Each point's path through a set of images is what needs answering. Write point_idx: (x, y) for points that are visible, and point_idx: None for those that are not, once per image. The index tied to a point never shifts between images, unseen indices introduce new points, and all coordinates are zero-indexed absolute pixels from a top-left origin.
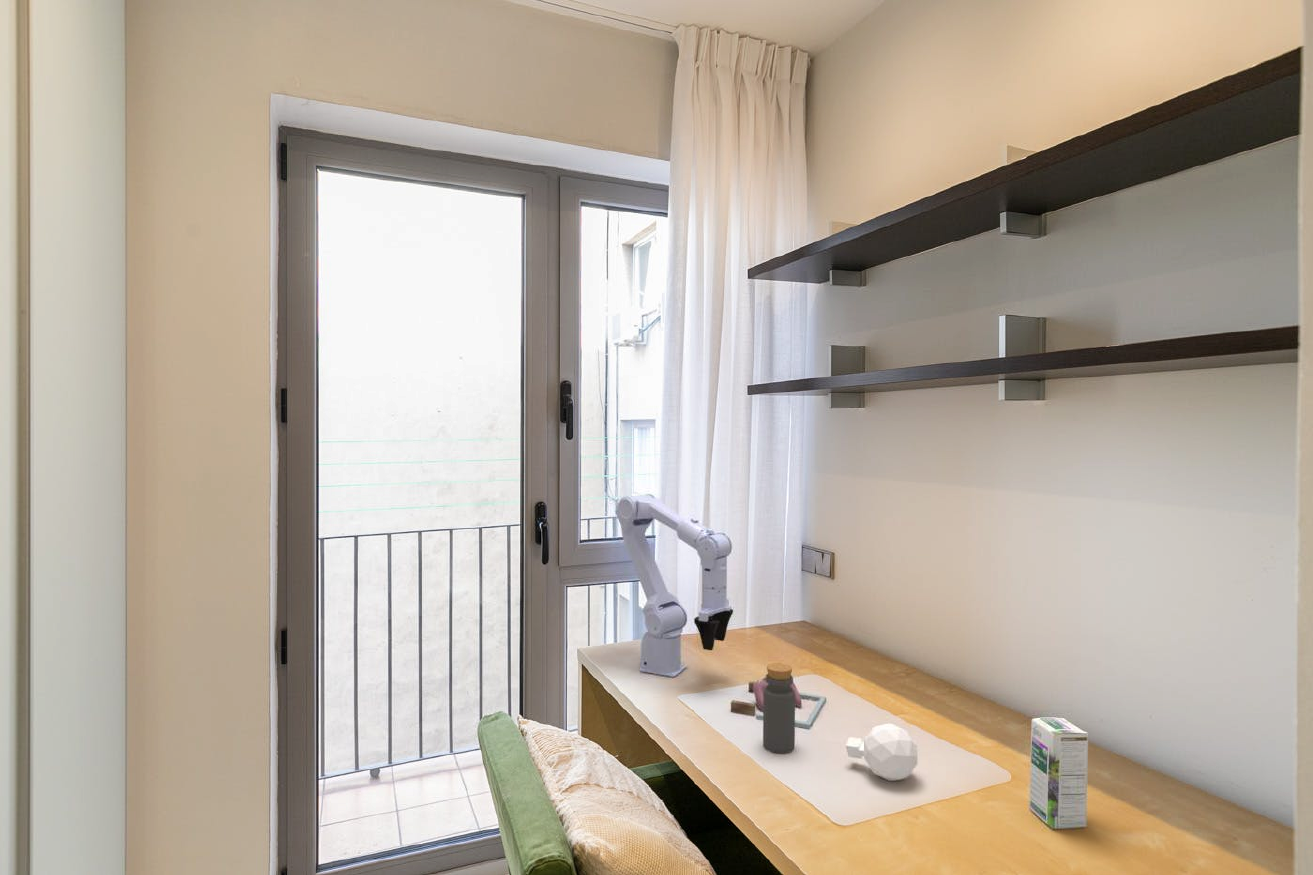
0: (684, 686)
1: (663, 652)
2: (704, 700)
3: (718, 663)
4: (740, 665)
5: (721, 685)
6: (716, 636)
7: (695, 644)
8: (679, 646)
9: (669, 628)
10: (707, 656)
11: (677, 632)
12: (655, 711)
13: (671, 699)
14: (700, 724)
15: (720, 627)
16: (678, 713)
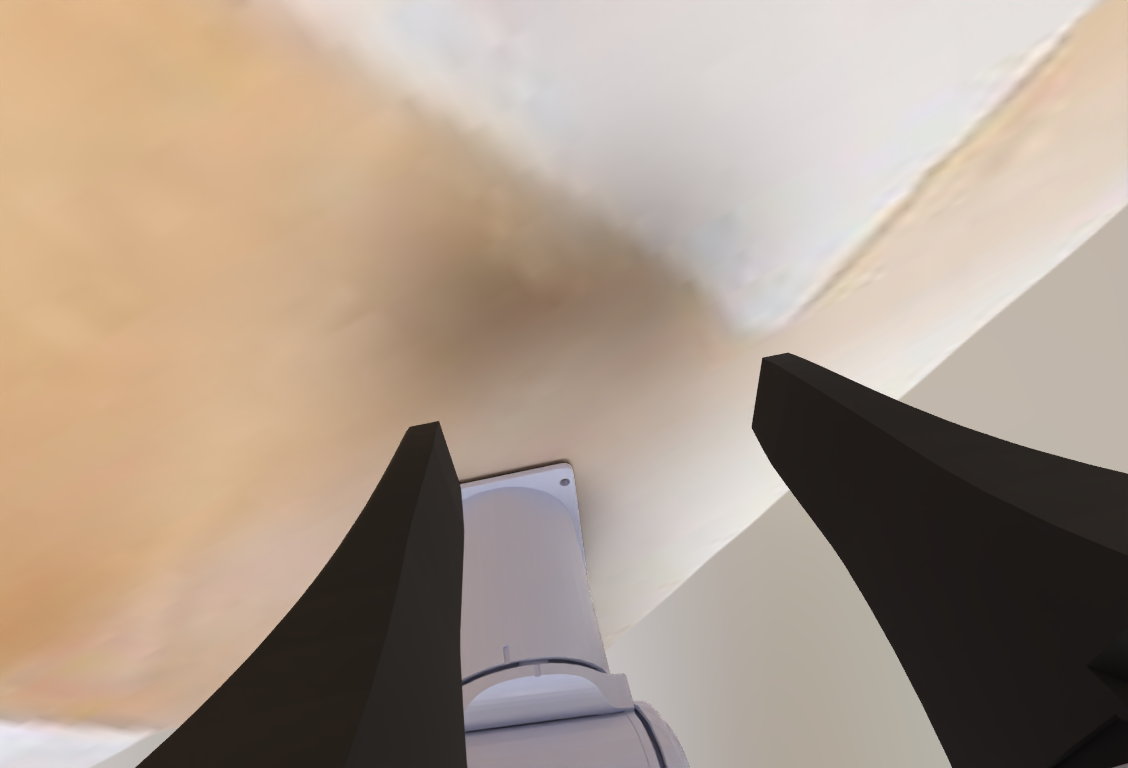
0: (643, 372)
1: (590, 597)
2: (787, 188)
3: (203, 424)
4: (83, 305)
5: (523, 222)
6: (459, 506)
7: (77, 633)
8: (502, 598)
9: (601, 741)
10: (166, 516)
11: (507, 698)
12: (960, 310)
13: (818, 331)
14: (1122, 24)
15: (433, 575)
16: (977, 213)
